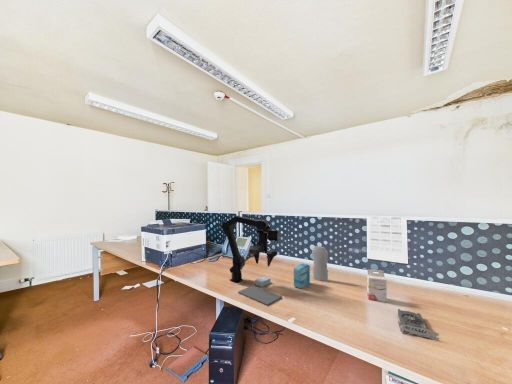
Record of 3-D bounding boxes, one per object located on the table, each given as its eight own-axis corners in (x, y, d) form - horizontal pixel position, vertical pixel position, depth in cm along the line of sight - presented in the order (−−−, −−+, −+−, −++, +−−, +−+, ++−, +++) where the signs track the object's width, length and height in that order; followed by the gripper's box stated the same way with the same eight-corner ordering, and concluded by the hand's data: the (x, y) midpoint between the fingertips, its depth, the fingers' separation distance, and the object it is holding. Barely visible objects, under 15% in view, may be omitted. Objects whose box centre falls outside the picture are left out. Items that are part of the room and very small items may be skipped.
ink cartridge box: (368, 299, 115) (368, 271, 116) (367, 295, 120) (366, 268, 120) (387, 302, 112) (386, 273, 113) (385, 298, 117) (384, 270, 117)
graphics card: (439, 334, 82) (401, 325, 87) (439, 344, 81) (401, 334, 87) (427, 313, 97) (395, 306, 102) (427, 321, 97) (395, 314, 102)
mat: (238, 293, 125) (238, 291, 125) (252, 286, 134) (252, 285, 134) (267, 306, 110) (267, 304, 110) (281, 297, 118) (281, 296, 118)
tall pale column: (311, 278, 145) (310, 245, 146) (313, 277, 149) (313, 244, 149) (327, 282, 139) (326, 247, 140) (329, 280, 143) (328, 246, 143)
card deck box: (254, 284, 137) (254, 279, 137) (263, 280, 144) (263, 276, 144) (261, 287, 134) (261, 282, 134) (270, 283, 140) (270, 278, 140)
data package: (300, 289, 129) (299, 269, 129) (293, 287, 132) (293, 267, 132) (310, 283, 138) (309, 264, 138) (303, 281, 141) (303, 262, 141)
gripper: (243, 239, 138) (243, 264, 138) (266, 244, 126) (266, 271, 125) (255, 237, 146) (254, 260, 146) (277, 241, 134) (277, 267, 134)
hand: (262, 265), depth 138 cm, fingers open, 9 cm apart
